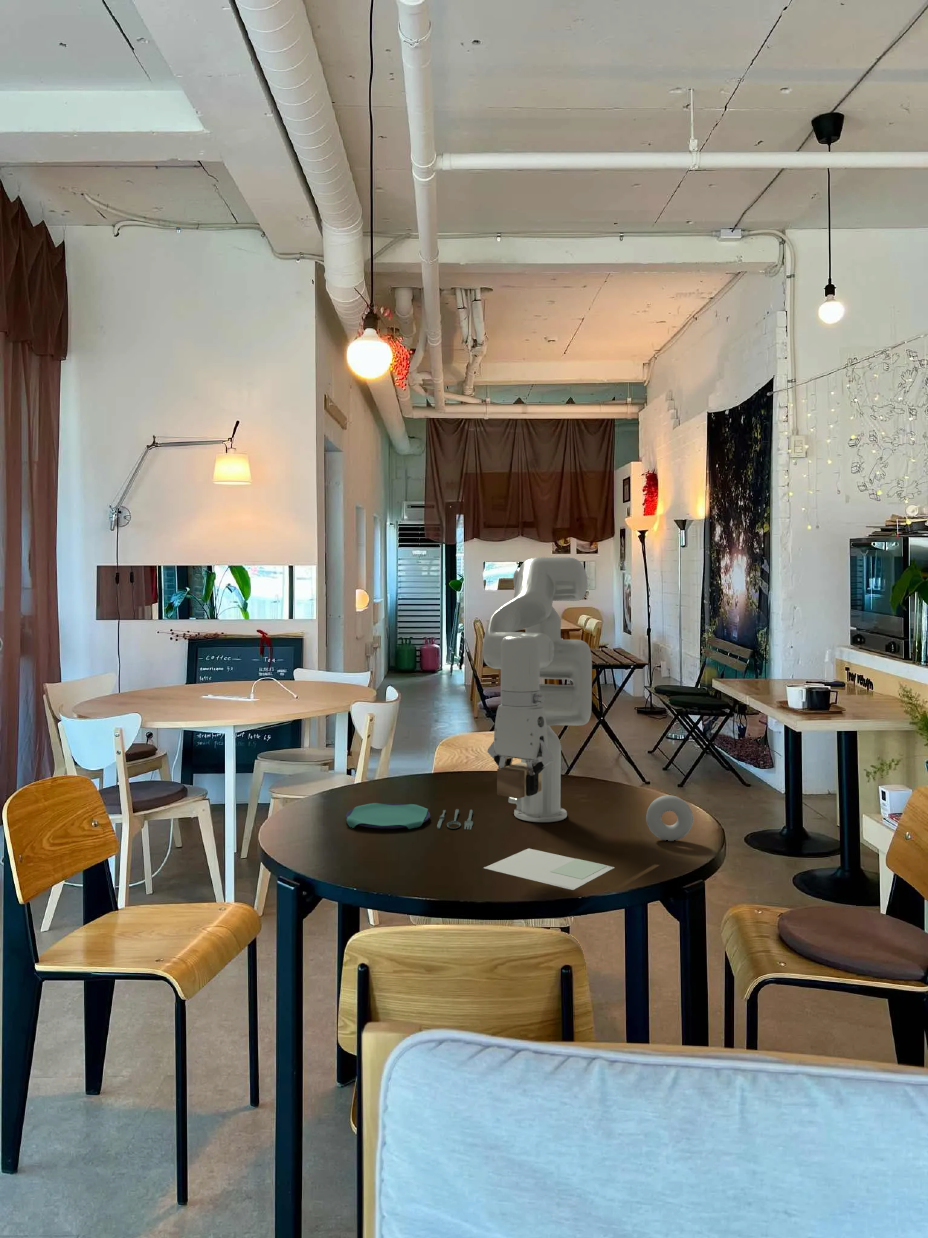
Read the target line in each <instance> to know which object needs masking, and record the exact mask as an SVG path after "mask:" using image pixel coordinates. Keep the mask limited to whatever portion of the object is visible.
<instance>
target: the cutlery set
mask: <svg viewBox="0 0 928 1238" xmlns="http://www.w3.org/2000/svg"><path fill="white" fill-rule="evenodd" d="M454 811H455V812H454V818H453V820H450V821H448V822H447V823H446V826H447V828H448V829H451V830H456V829H459V828H460V827H461V826H462V824H461V822H459V821H458V820H457V819H458V815H459V812H460V809H459V808H456V809H455V810H454ZM446 813H447V810H446V809H443V810H442V814H441V815H439V820H438V822H437V825H436V828H437V830H441V827H442V824H443V822H444V821H445V814H446ZM473 813H474V812H473V809H469V813H468V818H467V819H466V820H464V824H463V825H464V831H465V830H467V831H469V830H470V831H471V830H472V827H473V825H474V820H472V818H473V817H472V816H473ZM430 818H431V813H430V812H429V808H426V807H424V806H421V805H419V804H416V803H415V804H413V803H409V804H406V803H405V804H404V803H396V802H395V803H379V802H372V803H367V804H362V805H358V806H355V807H354V808H352V809H350V810H348V811H347V812H346V814H345V819H346V823H347V825H348V827H350V828H351V827H352V828H354V829H355V827H356V826H360V827H365V828H373V829H381V830H382V829H402V828H407V829H408V830H412V829H415V828H416V829H417V828H419V827H421V826H422V825H423V823H426V822H428V820H429V819H430ZM453 824H454V825H457V826H456V827H450V825H453ZM352 828H351V829H352Z"/></svg>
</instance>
